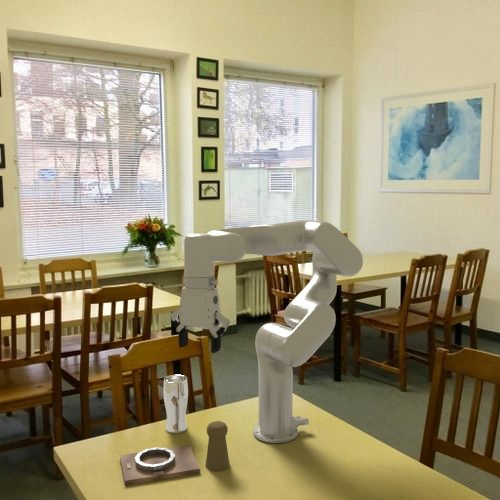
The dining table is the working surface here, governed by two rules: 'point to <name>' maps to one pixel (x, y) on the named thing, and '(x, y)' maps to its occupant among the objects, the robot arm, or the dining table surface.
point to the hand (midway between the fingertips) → (199, 349)
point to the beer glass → (176, 402)
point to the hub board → (181, 467)
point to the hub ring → (154, 467)
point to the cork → (217, 447)
